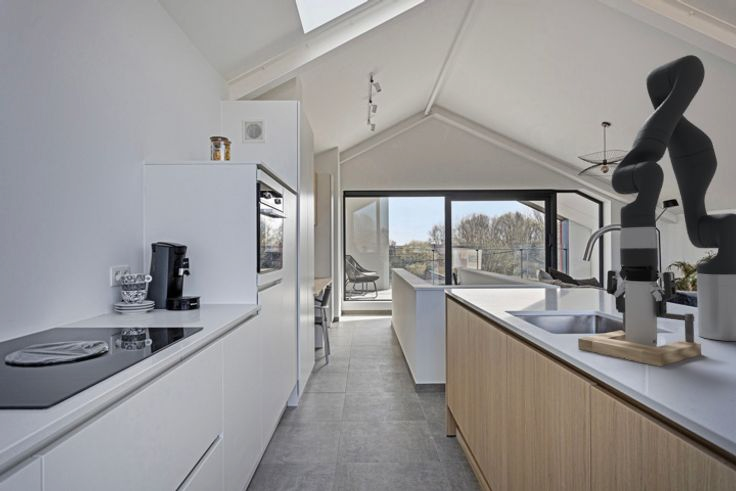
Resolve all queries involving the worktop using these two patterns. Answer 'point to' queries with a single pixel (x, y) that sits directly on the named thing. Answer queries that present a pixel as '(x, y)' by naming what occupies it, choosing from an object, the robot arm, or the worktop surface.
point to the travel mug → (640, 308)
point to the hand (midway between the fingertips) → (640, 314)
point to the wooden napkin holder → (647, 354)
